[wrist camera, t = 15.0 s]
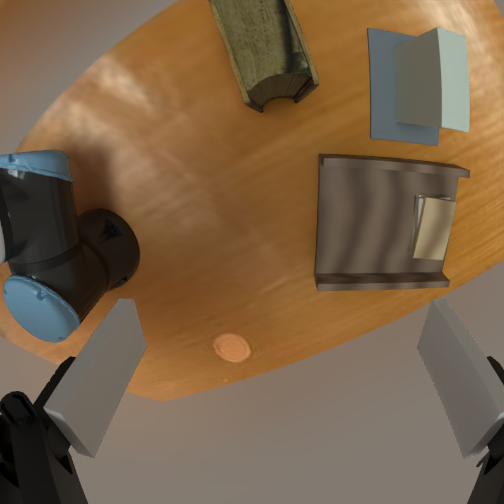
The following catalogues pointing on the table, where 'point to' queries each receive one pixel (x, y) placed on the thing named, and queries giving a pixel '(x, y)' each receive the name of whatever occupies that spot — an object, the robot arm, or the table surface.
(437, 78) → the upright sage slab
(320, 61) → the table surface
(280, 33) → the book
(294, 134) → the table surface
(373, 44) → the mat
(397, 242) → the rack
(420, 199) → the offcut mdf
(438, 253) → the offcut oak
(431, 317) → the robot arm
